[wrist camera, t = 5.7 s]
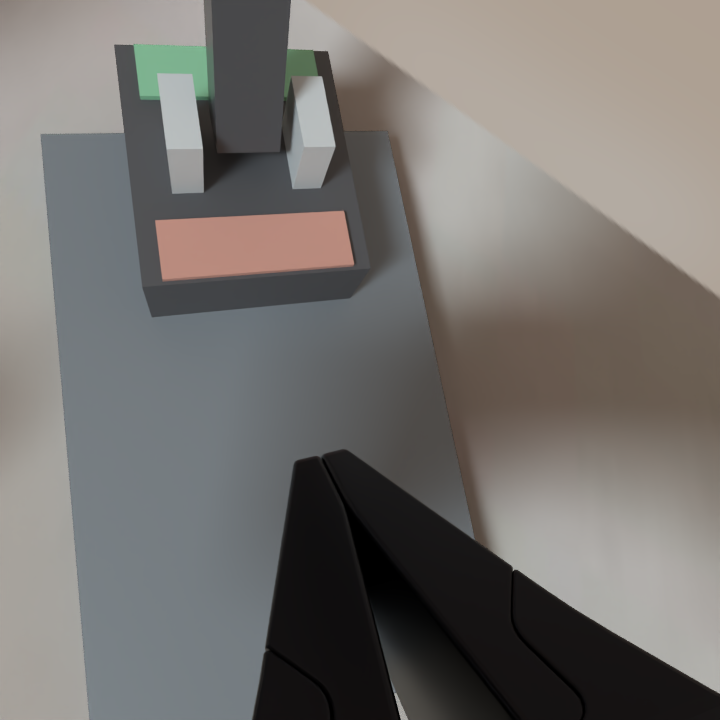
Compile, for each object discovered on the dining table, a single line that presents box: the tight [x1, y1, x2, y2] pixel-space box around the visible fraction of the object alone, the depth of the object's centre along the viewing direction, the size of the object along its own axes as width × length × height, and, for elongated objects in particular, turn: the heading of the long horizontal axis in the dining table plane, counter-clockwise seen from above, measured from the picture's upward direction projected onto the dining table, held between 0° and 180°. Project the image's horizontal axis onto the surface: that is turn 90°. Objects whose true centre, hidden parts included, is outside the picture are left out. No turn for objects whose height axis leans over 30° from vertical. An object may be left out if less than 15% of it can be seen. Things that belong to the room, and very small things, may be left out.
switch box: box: [41, 44, 475, 720], centre depth 15 cm, size 18×11×6 cm, turn 11°
